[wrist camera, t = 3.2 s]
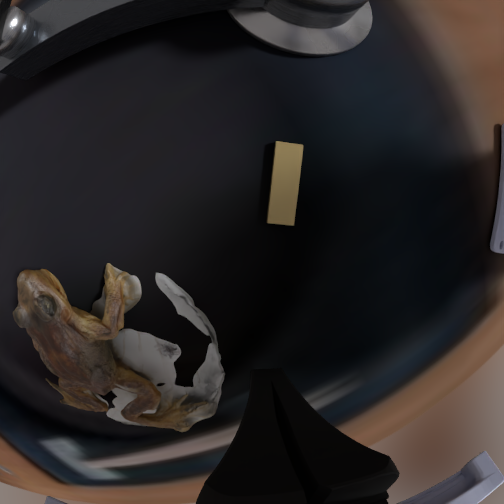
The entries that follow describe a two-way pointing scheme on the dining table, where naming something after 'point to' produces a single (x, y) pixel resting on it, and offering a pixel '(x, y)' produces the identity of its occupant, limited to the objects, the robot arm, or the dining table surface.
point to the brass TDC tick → (284, 183)
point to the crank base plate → (303, 32)
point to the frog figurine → (117, 351)
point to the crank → (128, 24)
